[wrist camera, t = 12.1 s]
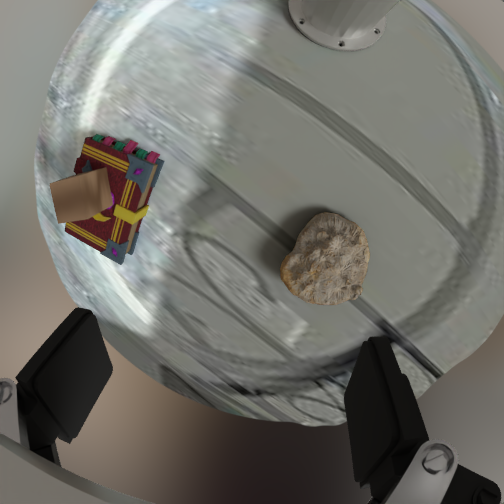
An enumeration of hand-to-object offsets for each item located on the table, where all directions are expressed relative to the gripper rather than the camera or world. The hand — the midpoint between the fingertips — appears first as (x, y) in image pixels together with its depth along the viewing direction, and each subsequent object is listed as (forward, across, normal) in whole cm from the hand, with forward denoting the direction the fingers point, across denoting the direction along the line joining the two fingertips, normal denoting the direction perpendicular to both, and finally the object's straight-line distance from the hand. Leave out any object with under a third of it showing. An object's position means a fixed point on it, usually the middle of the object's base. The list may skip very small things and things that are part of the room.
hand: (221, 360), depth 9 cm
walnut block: (+25, +22, 0) cm, 33 cm away
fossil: (+30, -9, +9) cm, 33 cm away
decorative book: (+31, +21, +1) cm, 37 cm away
